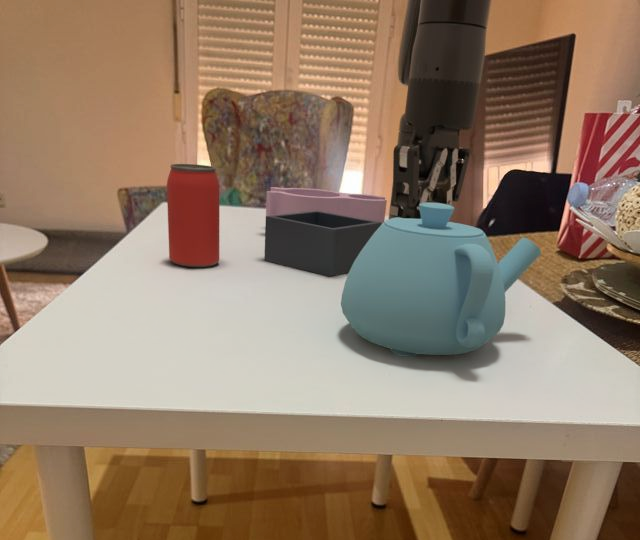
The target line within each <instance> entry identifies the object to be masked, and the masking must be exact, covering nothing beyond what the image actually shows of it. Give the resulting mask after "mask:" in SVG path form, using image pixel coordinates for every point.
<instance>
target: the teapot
mask: <svg viewBox="0 0 640 540" xmlns="http://www.w3.org/2000/svg"><path fill="white" fill-rule="evenodd" d="M419 210H420V215H421V219H412V218H400V217H396V218H391V219H389V218H388V219H389V220H388V219H387V220H384V223H382V225H381V226H380V227H379V228H378V229H377V230H376V231H375V233H374V234H373V235H372V237H371V238H370V239H369V241H368V242H367V243H366V245H365V246H364V248H363V249H362V250H361V252H360V253H359V255H358V256H357V258H356V260H355V261H354V263H353V265H352V267H351V269H350V271H349V272H348V274H347V276H346V279H345V283H344V286H343V290H342V293H341V300H340V306H341V311H342V314H343V315H344V317H345V319H346V320H347V322H348V323H349V325H350V327H352V329H353V330H354V331H355V333H356V334H357V335H358V336H360V337H361V338H362V339H364V340H366V341H369V342H371V343H372V344H375V345H378V346H381V347H384V348H387V349H391V350H390V351H391V352H392V354H395V355H397V356H402V357H413V356H417V355H418V354H419V355H431V356H432V355H433V356H449V355H451V356H453V355H461V354H466V353H467V354H468V353H471V352H474V351H476V350H478V349H480V348H481V347H483V345H485V344H487V343H488V342H489V341H491V340H492V339H493V338H495V336H497V334H498V333H500V331H501V329H502V328H503V326H504V324H505V323H504V322H505V319H506V292H507V291H508V290H509V289H510V288H511V287H512V286H513V285H514V284H515V283H516V282H517V281H518V279H520V277H522V275H523V274H525V272H526V271H527V270H528V269H529V268H530V267H531V266H532V265H533V263H534V262H535V261H537V259H538V258H539V257H540V256H541V255H542V251H541V249H540V248H539V247H538V245H537V244H536V243H534V242H533V241H532V240H530V239H529V238H526V237H521V238H520V239H519V240H518V241H517V242H516V243H515V244H514V246H513V247H511V249H510V250H509V251H508V252H507V253H506V254H505V255H504V256H503V257H502V258H501V259H500V261H498V260H497V258H496V254H495V251H494V249H493V247H492V244H491V243H490V241H489V238H488V236H487V234H486V233H485V232H484V231H483V230H482V229H481V228H479V227H475V226H472V225H469V224H464V223H460V222H453V221H450V220H451V217H452V215H453V213H454V211H455V207H454V206H453V205H447V204H442V203H421V204H419Z"/></svg>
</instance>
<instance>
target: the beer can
mask: <svg viewBox="0 0 640 540" xmlns="http://www.w3.org/2000/svg"><path fill="white" fill-rule="evenodd" d="M166 200H167V201H166V202H167V229H168V230H167V231H168V259H169V260H170V261H171V262H172V263H174V264H175V265H178V266H181V267H187V268H209V267H213V266H215V265H216V264H218V263H219V261H220V183H219V179H218V176H217V173H216V167H214V166H212V165H204V164H193V163H173V164H171V165H170V171H169V174H168V176H167V181H166Z"/></svg>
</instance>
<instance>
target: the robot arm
mask: <svg viewBox="0 0 640 540" xmlns="http://www.w3.org/2000/svg"><path fill="white" fill-rule="evenodd" d="M491 6H492V0H407V3H406V9H405V15H404V21H403V25H402V27H403V28H402V32H401V37H400V42H399V50H398V58H397V78H398V80H399V83H400V84H401V85H402V86H404V87H407V93H406V99H405V100H406V101H405V108H404V113H403V114H402V115H401V116H400V118H399V125H398V127H399V128H398V135H397V143H396V144H397V145H395V146H394V148H393V153H392V155H393V157H392V160H393V161H392V163H393V164H392V186H391V195H390V204H389V209H388V210H389V211H388V219H387V220H389V219H391V218H396V217H400V218H412V219H421V215H420V210H419V204H421V203H426V201H427V200H431V201H435V202H438V203H442V204H447V205H451V206H453V202H454V203H455V202H456V203H457V202H459V200H460V196H461V194H462V190H463V189H462V188H463V185H464V180H465V176H466V172H467V168H468V165H469V160H470V157H471V149H470V148H466V147H460V131H469V130H471V129H472V128H473V127H474V126H475V125H474V124H475V118H476V112H477V105H478V100H479V94H480V88H481V82H482V76H483V70H484V65H485V56H486V41H487V38H486V37H487V29H488V24H489V18H490V12H491Z"/></svg>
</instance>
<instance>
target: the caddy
mask: <svg viewBox="0 0 640 540" xmlns="http://www.w3.org/2000/svg"><path fill="white" fill-rule="evenodd" d="M381 225H382V223H381V222H376V221H371V220H365V219H360V218H354V217H349V216H343V215H338V214H332V213H327V212H321V211H309V212H300V213H290V214H281V215H272V216H266V215H265V229H264V231H265V232H264V233H265V234H264V259H263V260H264V261H265V262H270V263H273V264H277V265H282V266H286V267H290V268H294V269H298V270H301V271H305V272H310V273H314V274H319V275H322V276H326V277H334V276H338V275H341V274H347V273H349V271H350V269H351V267H352V265H353V263H354V261H355V260H356V258H357V256H358V255H359V253H360V252H361V250H362V249H363V248H364V246H365V245H366V243H367V242H368V241H369V239H370V238H371V237H372V235H373V234H374V233H375V231H376V230H377V229H378V228H379V227H380V226H381Z"/></svg>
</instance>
